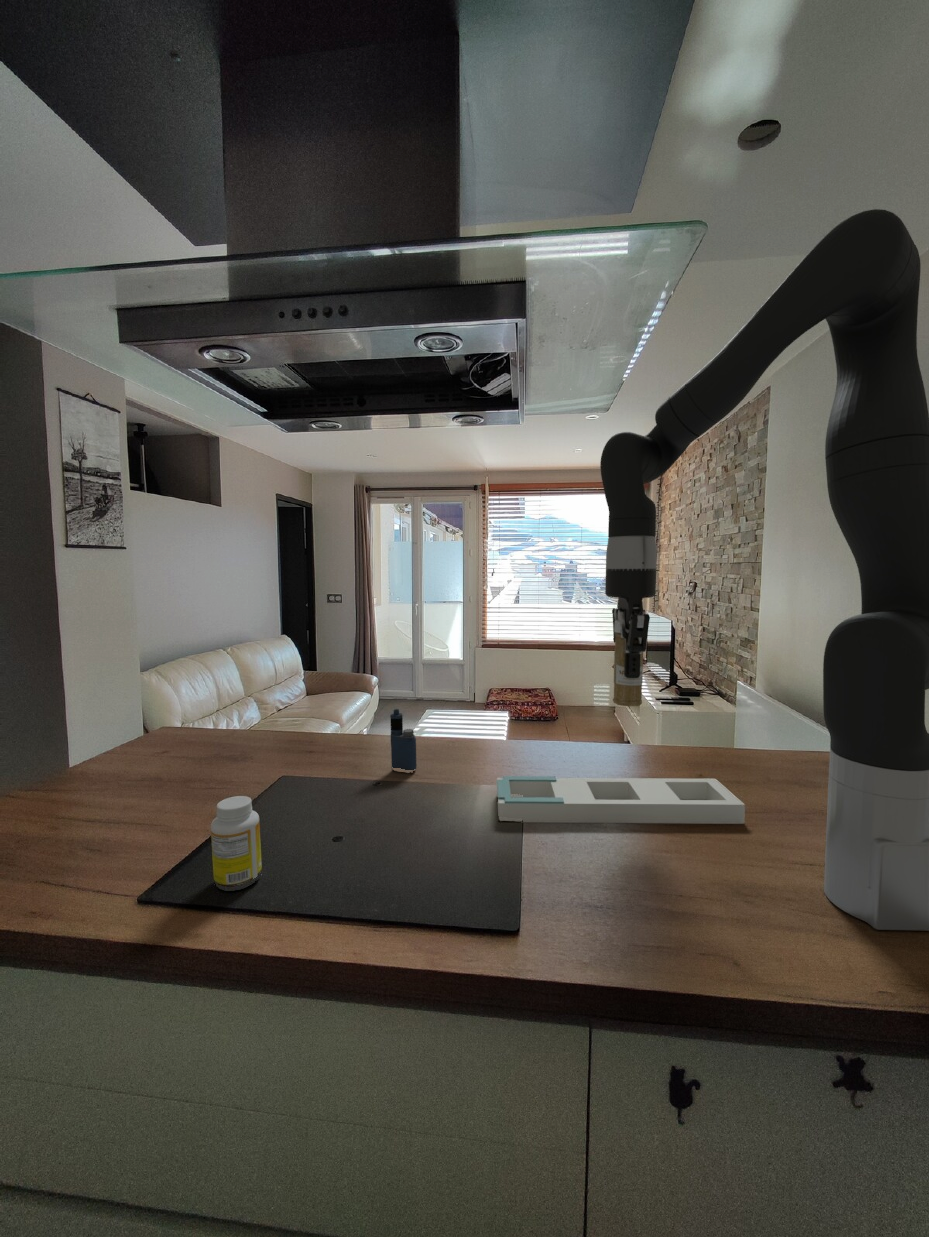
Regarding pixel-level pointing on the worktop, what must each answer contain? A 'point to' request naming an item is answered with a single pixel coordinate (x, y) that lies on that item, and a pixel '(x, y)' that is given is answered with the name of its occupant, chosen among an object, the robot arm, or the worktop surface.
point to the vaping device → (402, 744)
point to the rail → (644, 802)
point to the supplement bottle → (235, 842)
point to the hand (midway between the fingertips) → (627, 673)
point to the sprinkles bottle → (624, 688)
